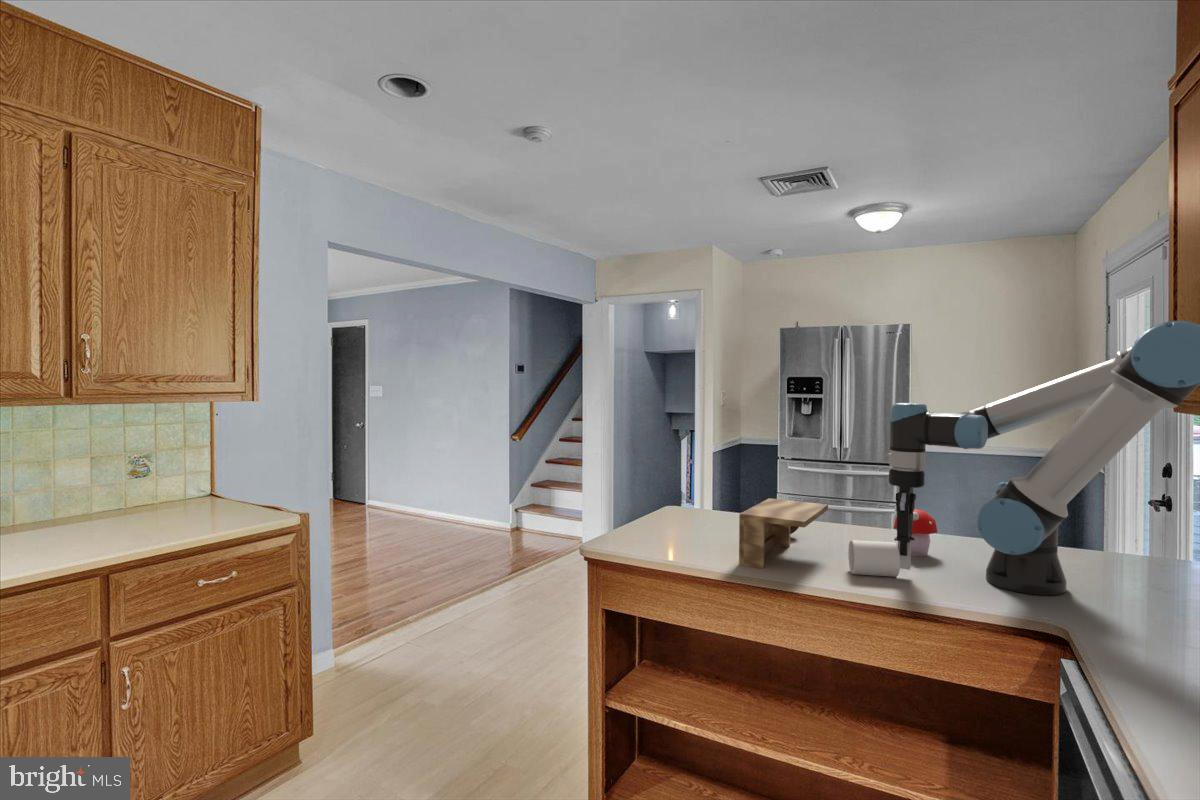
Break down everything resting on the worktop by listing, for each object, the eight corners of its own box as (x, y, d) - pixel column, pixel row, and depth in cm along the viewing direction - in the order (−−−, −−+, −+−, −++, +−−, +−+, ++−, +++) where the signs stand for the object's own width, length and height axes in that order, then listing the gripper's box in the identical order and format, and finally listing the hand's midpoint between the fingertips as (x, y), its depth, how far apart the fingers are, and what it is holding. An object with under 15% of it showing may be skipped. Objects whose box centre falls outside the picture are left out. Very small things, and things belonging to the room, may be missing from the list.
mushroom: (901, 545, 175) (901, 503, 175) (943, 553, 167) (944, 508, 167) (886, 552, 168) (887, 508, 167) (930, 561, 160) (931, 515, 159)
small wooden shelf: (827, 552, 168) (828, 504, 168) (803, 575, 148) (804, 521, 148) (768, 543, 177) (769, 498, 176) (738, 564, 157) (739, 513, 156)
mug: (900, 581, 144) (900, 547, 144) (854, 578, 146) (854, 544, 146) (887, 566, 156) (887, 534, 156) (845, 563, 158) (845, 532, 158)
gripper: (893, 464, 154) (890, 558, 155) (884, 470, 143) (881, 572, 144) (927, 466, 150) (924, 563, 151) (921, 473, 139) (918, 578, 140)
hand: (903, 567), depth 147 cm, fingers closed
